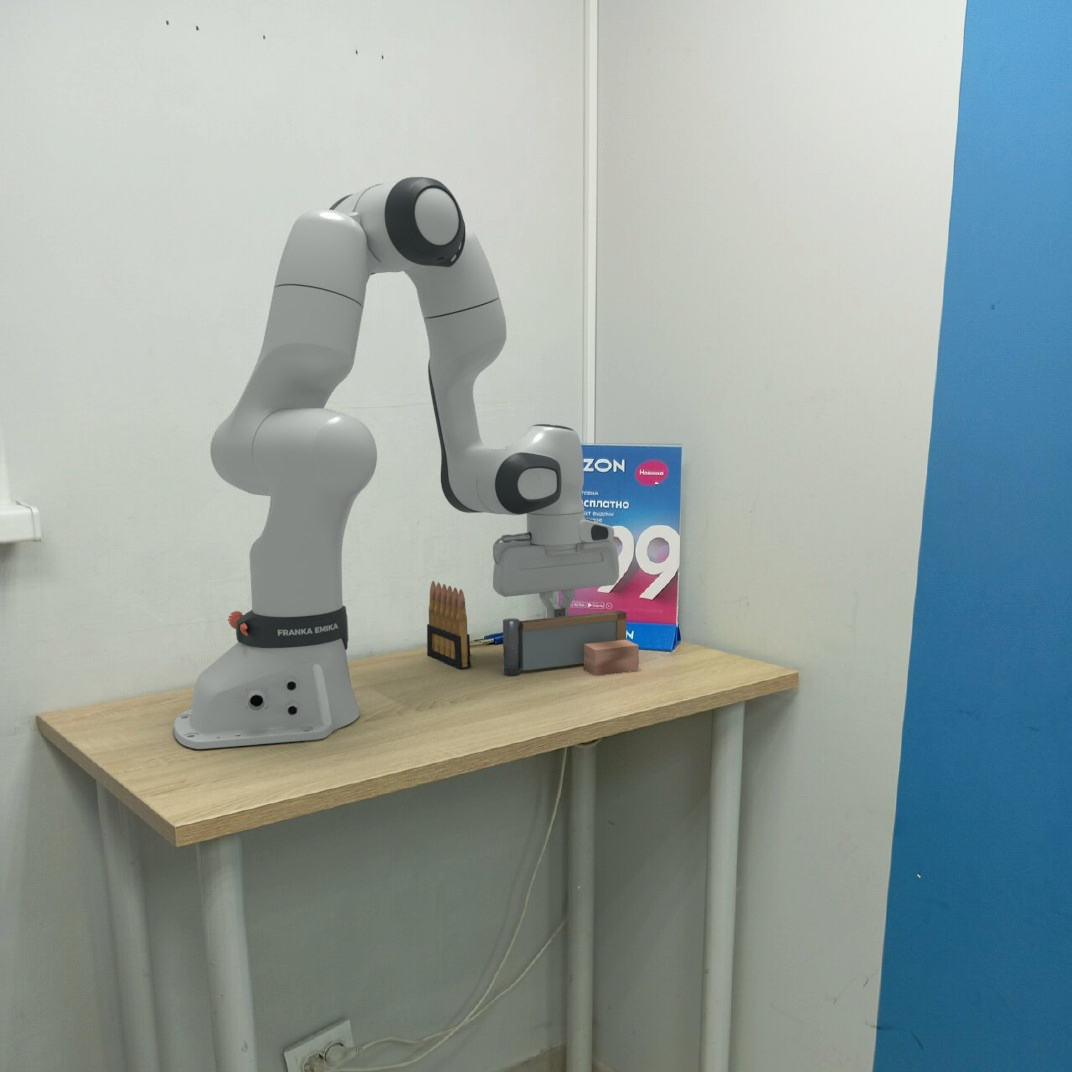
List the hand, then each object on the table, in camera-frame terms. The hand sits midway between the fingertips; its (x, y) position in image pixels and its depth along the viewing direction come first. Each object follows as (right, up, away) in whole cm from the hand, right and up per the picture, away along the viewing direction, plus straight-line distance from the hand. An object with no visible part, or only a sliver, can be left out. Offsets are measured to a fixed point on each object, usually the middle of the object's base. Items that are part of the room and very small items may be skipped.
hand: (557, 618), depth 159 cm
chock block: (+8, -7, -7) cm, 13 cm away
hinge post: (-7, -7, -9) cm, 13 cm away
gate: (+2, -6, -5) cm, 8 cm away
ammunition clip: (-17, -7, -1) cm, 18 cm away
